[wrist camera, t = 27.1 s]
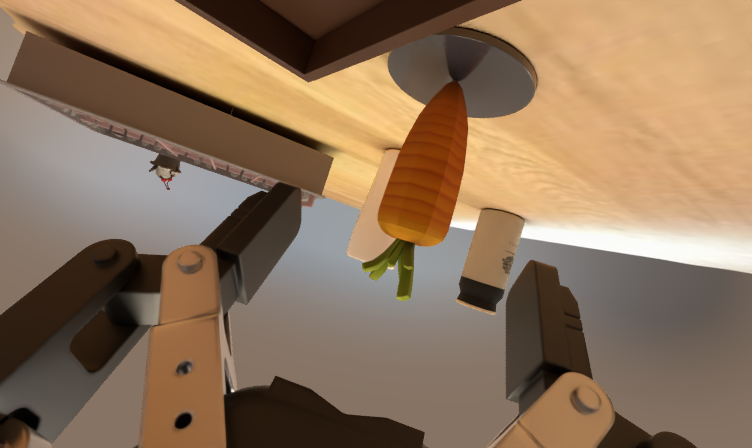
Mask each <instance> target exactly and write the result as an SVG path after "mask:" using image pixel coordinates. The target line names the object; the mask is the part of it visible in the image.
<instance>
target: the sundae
mask: <svg viewBox="0 0 752 448" xmlns="http://www.w3.org/2000/svg"><path fill="white" fill-rule="evenodd" d="M150 163H152V164H153V165H155V166H153V167H152V168H151V170H149V172H150V171H153V170H155V169H156V174H157V176H158V177H160V178H161V180H162V181H163V182H164V183H165V181H167V180H168V182H169V181H171V180H172V177H175V176H176V175H177V174H178V173H181V171H180V170H179V166H180V160H177V159H174V158H171V157H168V156H165V155H162V154H159V155H158V157H157V158H156V160H155V161H150ZM167 184H168V183H167ZM165 186H166V185H165ZM166 187H167V186H166ZM167 189H168V190H170V188H167Z"/></svg>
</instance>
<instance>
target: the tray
mask: <svg viewBox="0 0 752 448" xmlns="http://www.w3.org/2000/svg"><path fill="white" fill-rule="evenodd" d="M175 1H177V2H178V3H180V4H182V5H183V6H185V7H186V8H188V9H190V10H191V11H193V12H195V13H196V14H198V15H199V16H201V17H203V18H204V19H206V20H208V21H209V22H211V23H212V24H214V25H216V26H217V27H219V28H221V29H222V30H224V31H225V32H227V33H229V34H230V35H232V36H234V37H235V38H237V39H238V40H240V41H242V42H243V43H245V44H247V45H248V46H250V47H251V48H253V49H255V50H256V51H258V52H260V53H261V54H263V55H264V56H266V57H268V58H269V59H271V60H273V61H274V62H276V63H277V64H279V65H281V66H282V67H284V68H286V69H287V70H289V71H290V72H292V73H294V74H295V75H297V76H299V77H300V78H302V79H303V80H305V81H307V82H311V81H314V80H317V79H319V78H322V77H325V76H327V75H330V74H332V73H335V72H338V71H340V70H343V69H345V68H348V67H350V66H353V65H356V64H358V63H361V62H363V61H366V60H369V59H371V58H374V57H376V56H379V55H382V54H384V53H387V52H389V51H392V50H394V49H397V48H400V47H402V46H405V45H407V44H410V43H413V42H415V41H418V40H420V39H423V38H425V37H428V36H431V35H433V34H436V33H438V32H441V31H444V30H446V29H449V28H451V27H454V26H457V25H459V24H462V23H464V22H467V21H469V20H472V19H475V18H477V17H480V16H482V15H485V14H488V13H490V12H493V11H495V10H498V9H500V8H503V7H506V6H508V5H511V4H513V3H516V2H519V1H521V0H175Z"/></svg>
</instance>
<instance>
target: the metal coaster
mask: <svg viewBox="0 0 752 448" xmlns="http://www.w3.org/2000/svg"><path fill="white" fill-rule="evenodd" d="M388 69H389V72H390V75H391V77H392V78H393V80H394V81H395V83H396V84H397V85H398V86H399V87H400V88H401V89H402V90H403V91H404V92H405V93H407V94H408V95H409V96H411V97H412V98H414V99H415V100H417V101H419V102H421V103H423V104H425V105H427V104H428V103H429V101H430V100H431V99H432V98H433V97H434V96H435V95H436V94H437V93H438V92H439V91H440V90H441V89H442V88H443V87H444V86H445V85H446V84H447V83H450V82H452V81H454V80H456V81H458V83H459V84H460V86H461V87H462V89H463V94H464V98H465V103H466V108H467V117H472V118H494V117H501V116H506V115H510V114H512V113H515V112H517V111H519V110H521V109H523V108H524V107H526V106H527V105H528V104H529V103H530V101H531V100H532V98H533V96H534V93H535V90H536V86H537V79H536V74H535V72H534V69H533V67H532V66H531V64H530V63H529V61H528V60H527V59H526V58H525V57H524V56H523V55H522V54H521V53H520V52H518V51H517V50H516V49H515V48H513V47H511V46H510V45H508V44H507V43H505V42H503V41H501V40H499V39H497V38H494V37H492V36H489V35H487V34H484V33H480V32H477V31H473V30H468V29H463V28H455V27H451V28H449V29H446V30H444V31H441V32H438V33H436V34H433V35H431V36H428V37H425V38H423V39H420V40H418V41H415V42H413V43H410V44H407V45H405V46H402V47H400V48H397V49H394V50H392V51H390V54H389V58H388Z"/></svg>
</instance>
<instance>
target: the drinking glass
mask: <svg viewBox="0 0 752 448" xmlns="http://www.w3.org/2000/svg"><path fill="white" fill-rule="evenodd" d="M399 152H400V150H396V149H389V150H386V151H385V152H384V154H383V157H382V160H381V163H380V166H379V168H378V171H377V173H376V176H375V178H374V180H373V183H372V185H371V188H370V190H369V192H368V195H367V197H366V200H365V202H364V204H363V207H362V209H361V212H360V214H359V216H358V219H357V221H356V224H355V226H354V229H353V232H352V235H351V239H350V242H349V246H348V249H347V253H346V254H347V255H348V256H350V257H352V258H355V259H358V260H361V261H364V262H368V261H371V260H374V259H375V258H376V257H378V256H379V255H381V254H382V253H383V252H384V251H385V250H386V249H387V248H388V247H389V246H390V245H391V244H392V243H393V242H394V241H395V238H392V237H390V236H389V235H387V234H385V233H384V232H383V231H382V230H381V228H380V226H379V223H378V221H377V219H378V210H379V207H380V204H381V201H382V198H383V195H384V192H385V189H386V186H387V184H388V181H389V178H390V175H391V173H392V170H393V168H394V165H395V162H396V160H397V157H398V154H399ZM395 265H396V264H395ZM394 267H395V266H394ZM394 267H389V266H388V268H387V269H392V270H393V269H394Z"/></svg>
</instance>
